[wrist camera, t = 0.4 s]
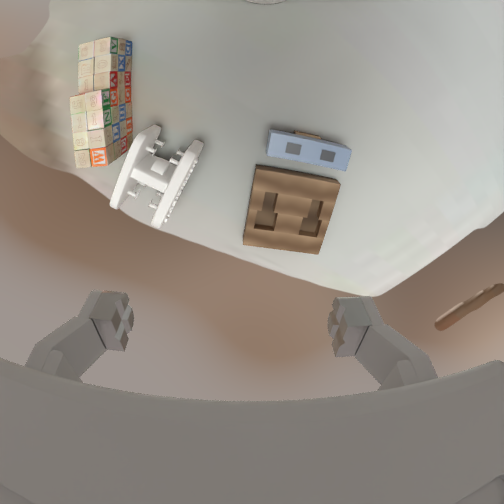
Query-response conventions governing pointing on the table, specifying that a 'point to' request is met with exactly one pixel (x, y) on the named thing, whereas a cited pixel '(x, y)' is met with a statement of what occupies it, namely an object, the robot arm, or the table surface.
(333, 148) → the strip
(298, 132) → the block
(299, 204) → the board
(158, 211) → the cable organizer
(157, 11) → the table surface
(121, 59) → the stack of blocks
